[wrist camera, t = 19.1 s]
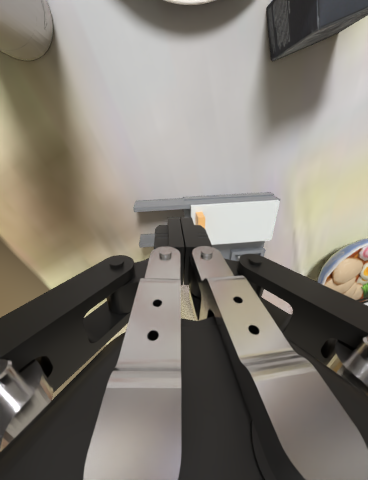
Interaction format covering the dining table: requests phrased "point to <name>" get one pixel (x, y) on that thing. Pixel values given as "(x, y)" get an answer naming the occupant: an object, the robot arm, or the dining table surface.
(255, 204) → the lid
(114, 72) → the dining table surface
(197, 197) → the housing
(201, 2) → the dinner plate
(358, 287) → the ramen bowl
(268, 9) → the small box
